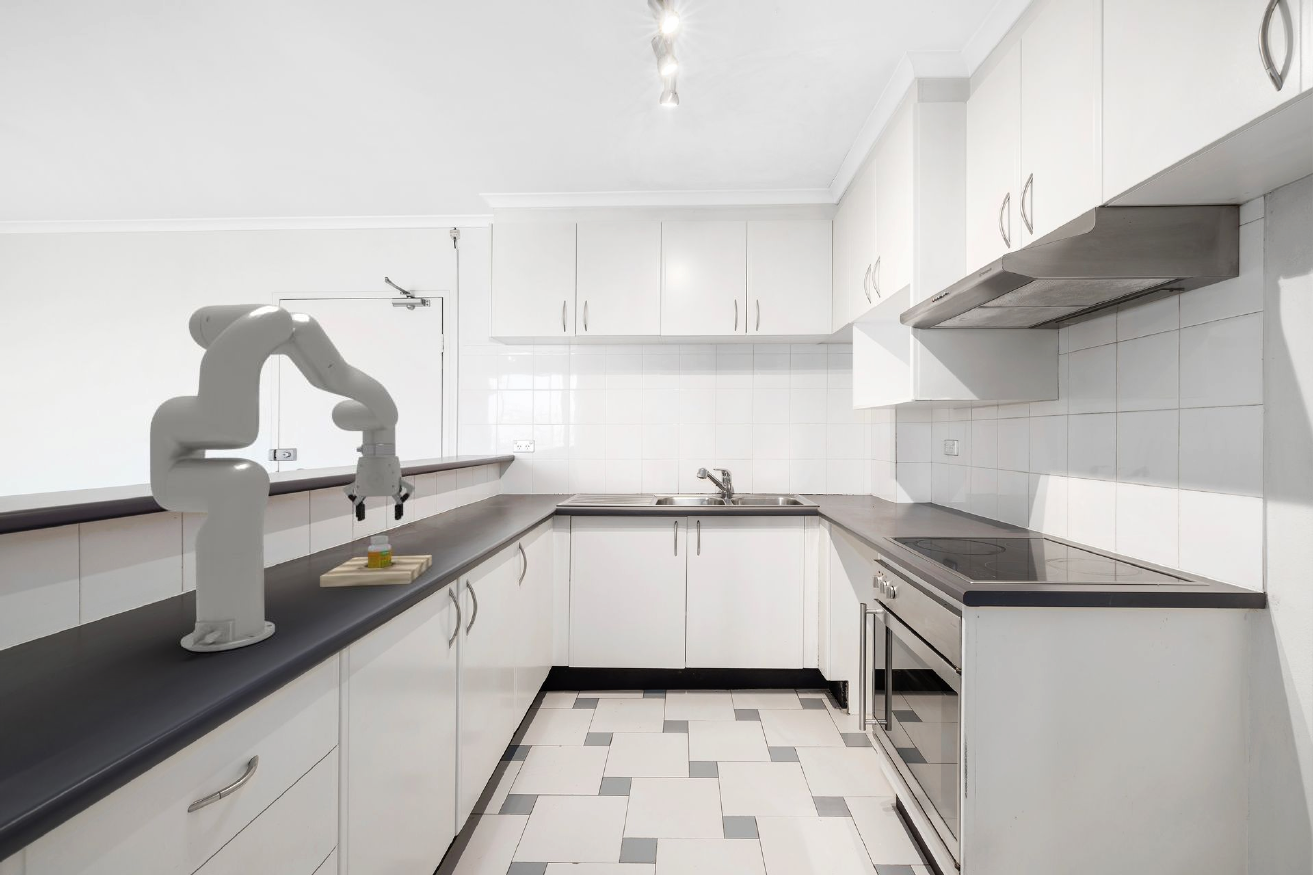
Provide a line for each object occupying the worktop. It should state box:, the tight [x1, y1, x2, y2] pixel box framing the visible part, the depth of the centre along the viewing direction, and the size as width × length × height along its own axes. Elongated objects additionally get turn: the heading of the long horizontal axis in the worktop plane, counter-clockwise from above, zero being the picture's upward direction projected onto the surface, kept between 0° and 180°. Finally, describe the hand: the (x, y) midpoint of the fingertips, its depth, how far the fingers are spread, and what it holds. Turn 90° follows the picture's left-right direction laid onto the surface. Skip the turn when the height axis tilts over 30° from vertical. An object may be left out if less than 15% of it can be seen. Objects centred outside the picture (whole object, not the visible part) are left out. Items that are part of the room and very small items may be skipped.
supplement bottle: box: [367, 535, 392, 568], centre depth 144 cm, size 5×5×10 cm
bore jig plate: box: [319, 554, 433, 588], centre depth 145 cm, size 20×20×2 cm
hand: (379, 519), depth 144 cm, fingers open, 8 cm apart
